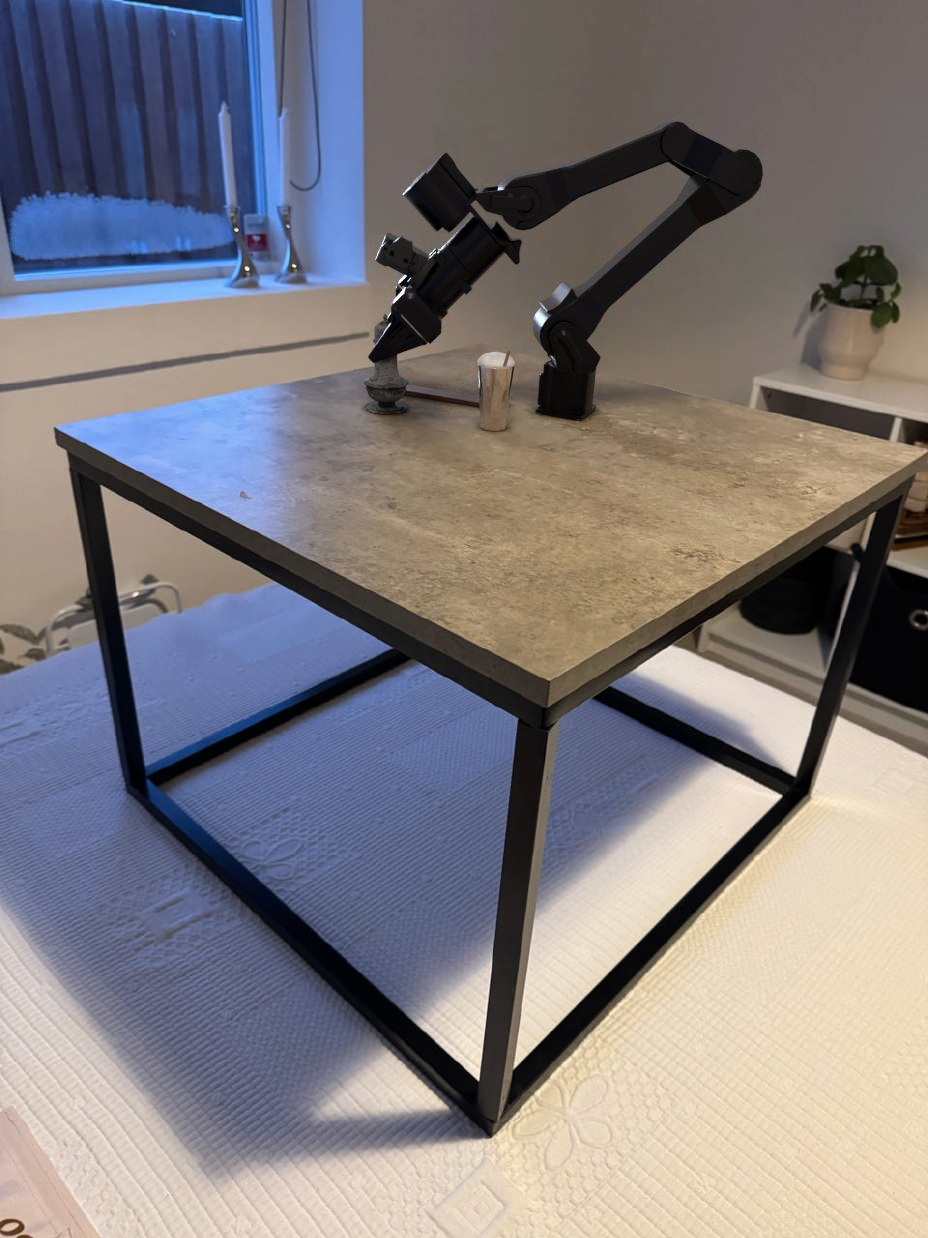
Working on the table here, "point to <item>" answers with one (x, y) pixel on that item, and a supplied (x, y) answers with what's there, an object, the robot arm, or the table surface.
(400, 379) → the salt shaker
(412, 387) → the strip
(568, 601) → the table surface
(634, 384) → the table surface
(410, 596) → the table surface
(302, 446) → the table surface
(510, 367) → the milkshake
